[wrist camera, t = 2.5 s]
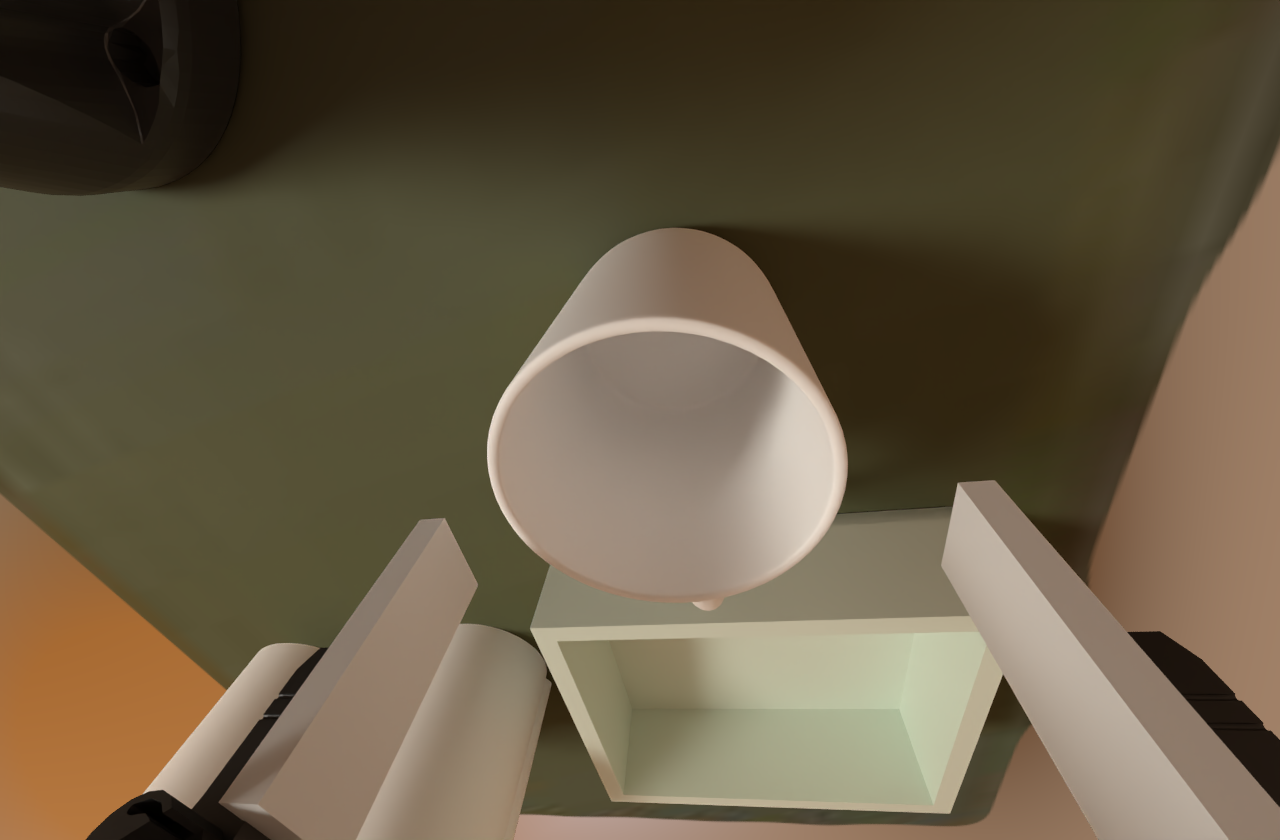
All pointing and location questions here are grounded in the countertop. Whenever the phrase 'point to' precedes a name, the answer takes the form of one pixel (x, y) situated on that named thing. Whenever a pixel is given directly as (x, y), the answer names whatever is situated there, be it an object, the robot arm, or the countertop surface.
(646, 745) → the tub
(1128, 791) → the robot arm
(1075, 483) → the countertop surface
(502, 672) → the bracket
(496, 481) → the cup
